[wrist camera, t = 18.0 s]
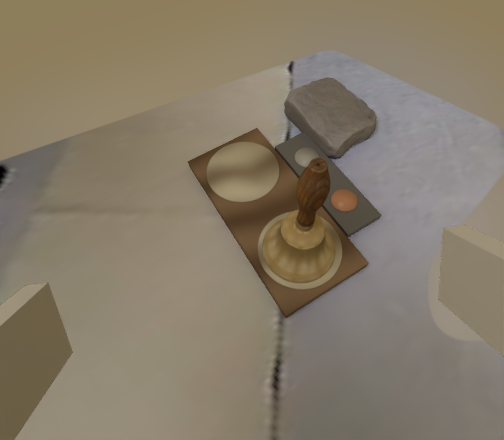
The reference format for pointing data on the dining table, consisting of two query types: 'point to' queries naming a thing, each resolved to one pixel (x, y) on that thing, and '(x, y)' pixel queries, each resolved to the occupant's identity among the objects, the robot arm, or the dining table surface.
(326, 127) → the stone block
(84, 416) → the dining table surface
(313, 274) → the hand bell
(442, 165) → the dining table surface
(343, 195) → the pattern card
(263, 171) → the board
